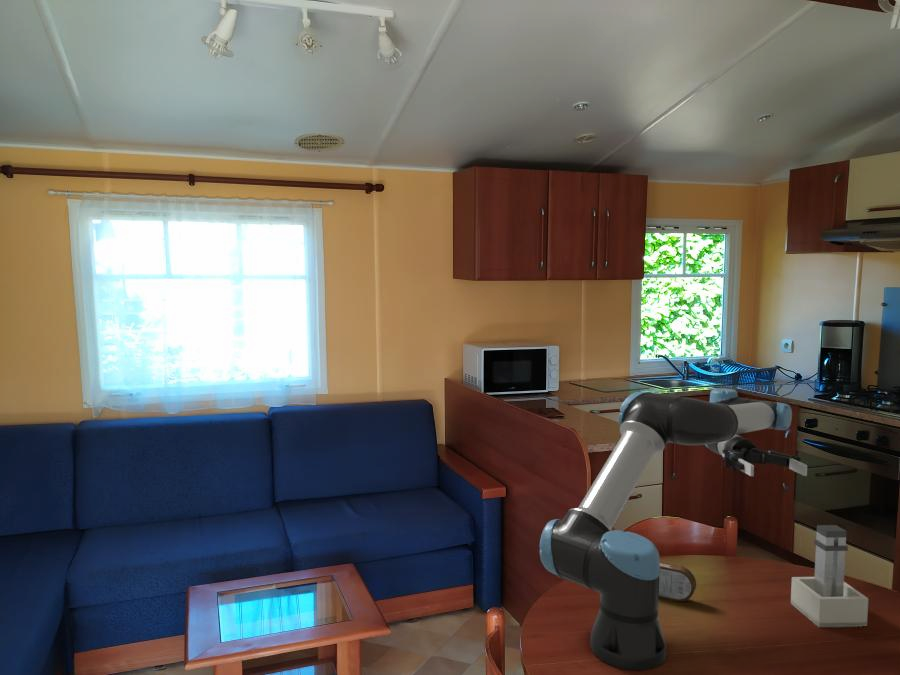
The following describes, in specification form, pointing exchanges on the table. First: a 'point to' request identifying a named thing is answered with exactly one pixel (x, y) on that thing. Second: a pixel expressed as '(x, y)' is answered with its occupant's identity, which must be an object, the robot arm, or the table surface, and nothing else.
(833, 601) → the open box
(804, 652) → the table surface
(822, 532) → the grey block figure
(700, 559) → the table surface
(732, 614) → the table surface
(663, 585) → the tin
